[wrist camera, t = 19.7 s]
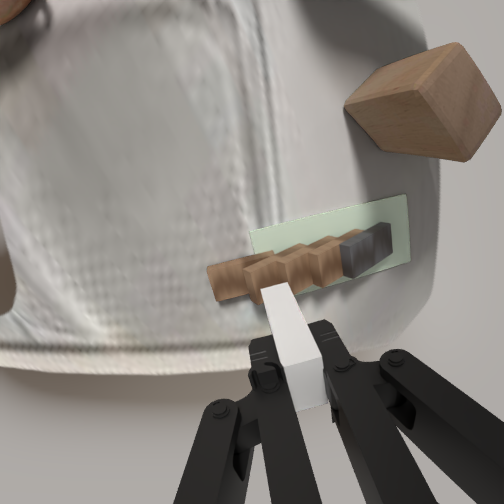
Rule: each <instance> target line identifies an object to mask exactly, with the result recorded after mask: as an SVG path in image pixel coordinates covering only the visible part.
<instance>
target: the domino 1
mask: <svg viewBox="0 0 504 504" xmlns="http://www.w3.org/2000/svg"><path fill="white" fill-rule="evenodd" d="M305 246H307V245H305V244H301V243H298V244H296V245H294V246H292V247H290V248H287V249H285V250H283V251H281V252H279V253H277V254H274V255H272V256H270V257H268V258H266V259H263V260H261V261H259V262H257V263H255V264H253V265H250V266H248V267H246V268H244V269H243V273H244V276H245V280H246V284H247V288H248V291H249V295H250V299H251V301H252V302H254V303H256V304H257V305H260V304H262V303H264V301H263V298H262V294H261V290H260V289H263V288H267V287H271V286H274V285H278V284H281V282H280V277H279V273H278V268H277V264H276V260H278V259H280V258H282V257H284V256H286V255H289V254H291V253H293V252H295V251H297V250H299V249H301V248H303V247H305Z"/></svg>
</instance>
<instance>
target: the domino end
mask: <svg viewBox="0 0 504 504" xmlns="http://www.w3.org/2000/svg"><path fill="white" fill-rule="evenodd" d="M272 255H274V251H273V250H270V251H266V252H263V253H259V254H255V255H251V256H247V257H243V258H239V259H235V260H231V261H227V262H223V263H220V264H216V265H212V266H208V267H207V274H208V277H209V280H210V283H211V287H212V290H213V293H214V296H215V299H216V302H217V301H221V300H225V299H229V298H234V297H238V296H242V295H245V294H249V291H248V288H247V284H246V280H245V276H244V273H243V269H244V268H246V267H248V266H250V265H253V264H255V263H257V262H259V261H261V260H263V259H266V258H268V257H270V256H272Z"/></svg>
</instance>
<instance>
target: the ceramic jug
mask: <svg viewBox="0 0 504 504" xmlns="http://www.w3.org/2000/svg"><path fill="white" fill-rule="evenodd" d="M31 1H32V0H0V25H3V24H5V23H7V22H9V21H10V20H12V19H13V18H15V17H16V16H17V15H18V14H20V13H21V12H22V11H23V10H24V9H25V8H26V7H27V5H28V4H29V3H30V2H31Z"/></svg>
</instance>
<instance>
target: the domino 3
mask: <svg viewBox="0 0 504 504" xmlns="http://www.w3.org/2000/svg"><path fill="white" fill-rule="evenodd" d="M363 231H365V230H360V229H353V230H351V231H349V232H347V233H345V234H343V235H341V236H339V237H338V238H336V239H334V240H332V241H330V242H328V243H326V244H324V245H322V246H320V247H318V248H316V249H314V250H312V251H310V252H308V257H309V262H310V268H311V273H312V279H313V285H316V286H319V287H321V288H324V287H326V286H327V285H329V284H331V283H332V282H334V281H336V280H337V279H339V278H341V277H342V276H343V269H342V262H341V255H340V247H339V244H340V243H342V242H344V241H346V240H348V239H350V238H352V237H353V236H355V235H357V234H359V233H361V232H363Z"/></svg>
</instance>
